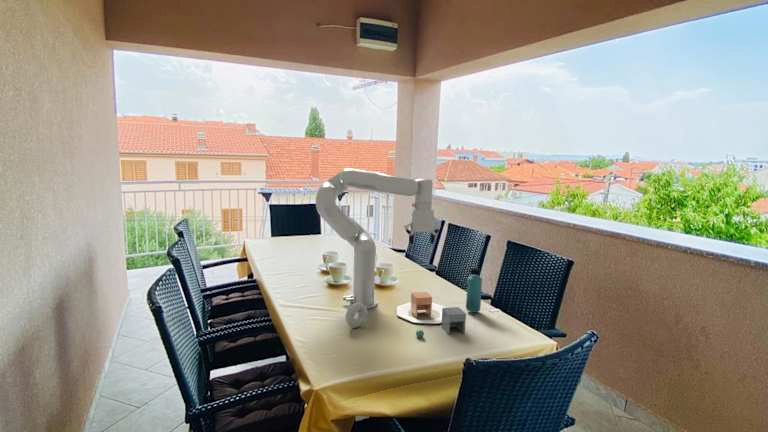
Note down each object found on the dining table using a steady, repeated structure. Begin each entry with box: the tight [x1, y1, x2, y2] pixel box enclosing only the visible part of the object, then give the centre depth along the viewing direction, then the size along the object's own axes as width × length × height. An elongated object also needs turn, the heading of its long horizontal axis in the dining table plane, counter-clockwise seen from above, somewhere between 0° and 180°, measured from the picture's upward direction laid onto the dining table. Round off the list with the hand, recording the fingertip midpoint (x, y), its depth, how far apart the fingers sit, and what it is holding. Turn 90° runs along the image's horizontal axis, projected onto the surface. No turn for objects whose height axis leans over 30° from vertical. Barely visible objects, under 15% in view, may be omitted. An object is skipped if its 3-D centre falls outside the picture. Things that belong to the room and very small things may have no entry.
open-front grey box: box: [441, 306, 467, 336], centre depth 157 cm, size 7×7×8 cm
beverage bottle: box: [465, 267, 483, 313], centre depth 175 cm, size 6×7×20 cm
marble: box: [415, 329, 425, 339], centre depth 150 cm, size 3×3×3 cm
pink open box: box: [410, 291, 433, 317], centre depth 172 cm, size 7×7×8 cm
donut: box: [345, 303, 368, 329], centre depth 157 cm, size 10×4×10 cm, turn 132°
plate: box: [396, 301, 447, 325], centre depth 173 cm, size 24×24×2 cm
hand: (421, 243), depth 182 cm, fingers open, 9 cm apart
